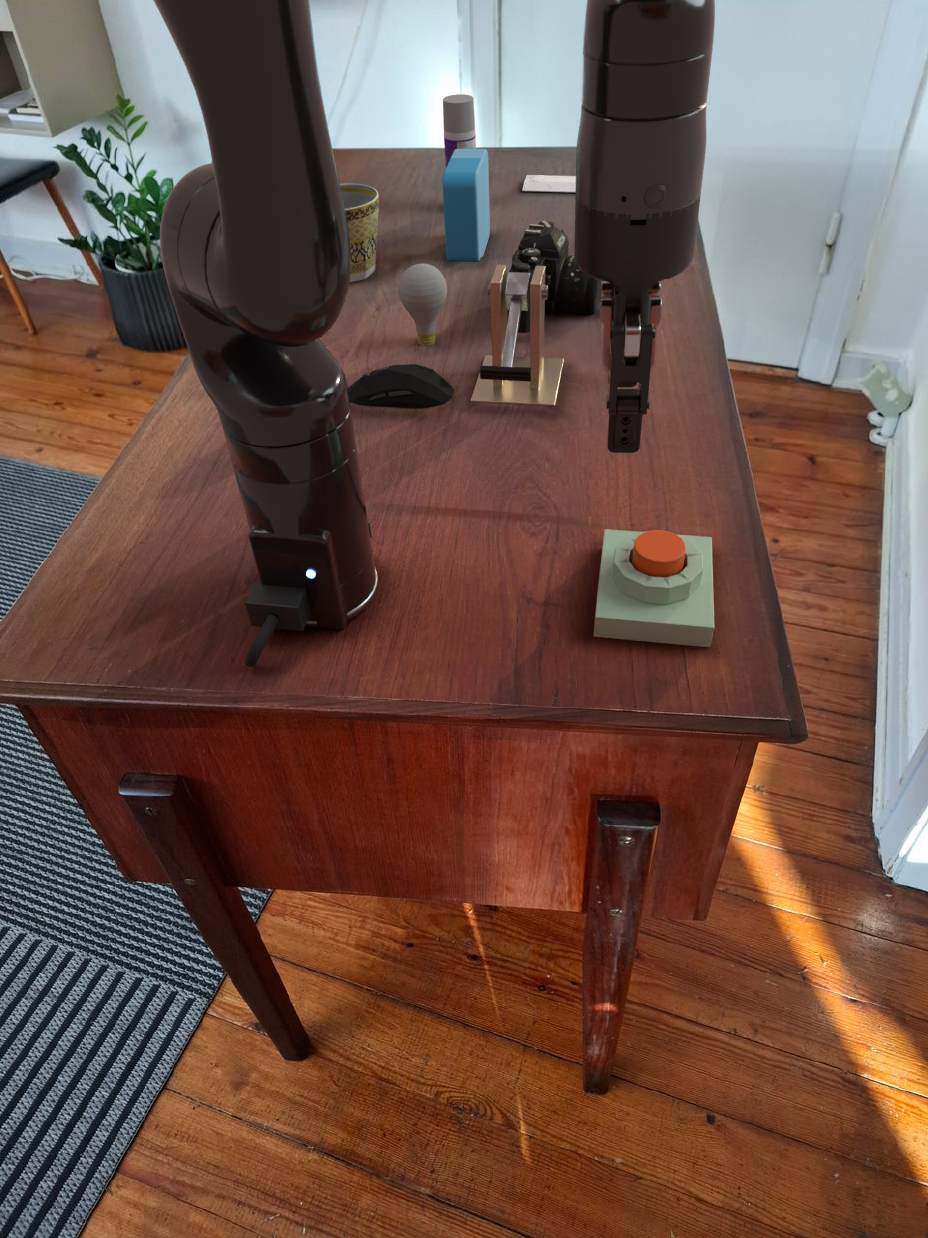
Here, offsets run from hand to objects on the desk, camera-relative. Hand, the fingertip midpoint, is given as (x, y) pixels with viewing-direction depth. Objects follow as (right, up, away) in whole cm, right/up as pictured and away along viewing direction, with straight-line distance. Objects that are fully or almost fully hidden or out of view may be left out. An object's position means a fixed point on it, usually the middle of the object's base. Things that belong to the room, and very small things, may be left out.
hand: (622, 416), depth 65 cm
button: (+4, -10, +6) cm, 12 cm away
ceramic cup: (-28, +34, +59) cm, 73 cm away
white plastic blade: (+5, +54, +77) cm, 95 cm away
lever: (-7, +14, +25) cm, 29 cm away
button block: (+4, -13, +8) cm, 16 cm away
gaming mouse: (-20, +9, +33) cm, 39 cm away
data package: (-11, +37, +61) cm, 72 cm away
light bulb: (-16, +17, +41) cm, 47 cm away
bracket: (-6, +11, +33) cm, 35 cm away
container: (-12, +49, +74) cm, 89 cm away
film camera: (0, +23, +46) cm, 52 cm away
